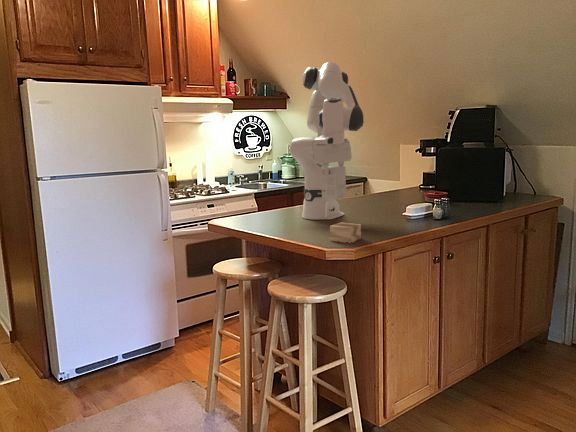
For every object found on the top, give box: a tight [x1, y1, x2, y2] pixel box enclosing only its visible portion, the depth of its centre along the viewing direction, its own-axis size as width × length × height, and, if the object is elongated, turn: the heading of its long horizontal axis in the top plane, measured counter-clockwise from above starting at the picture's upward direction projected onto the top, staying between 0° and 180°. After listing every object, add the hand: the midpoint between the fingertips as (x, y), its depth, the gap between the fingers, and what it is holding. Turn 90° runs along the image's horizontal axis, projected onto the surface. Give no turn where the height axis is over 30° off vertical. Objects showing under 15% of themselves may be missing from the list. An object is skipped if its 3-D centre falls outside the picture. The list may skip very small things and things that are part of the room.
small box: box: [320, 165, 347, 200], centre depth 214 cm, size 8×6×13 cm
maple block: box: [329, 221, 362, 244], centre depth 206 cm, size 9×9×6 cm
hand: (333, 173), depth 213 cm, fingers closed on small box, 6 cm apart
